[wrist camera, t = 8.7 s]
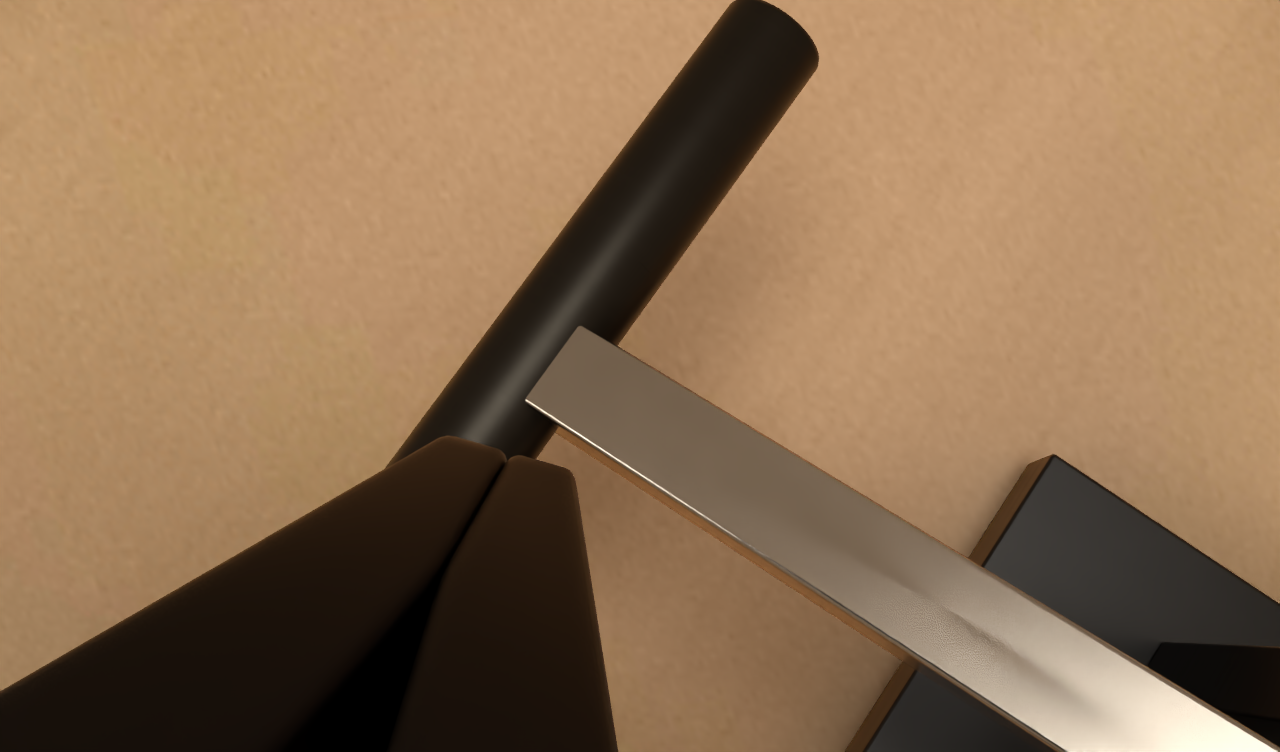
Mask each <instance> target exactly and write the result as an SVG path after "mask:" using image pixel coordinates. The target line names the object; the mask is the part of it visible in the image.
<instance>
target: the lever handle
mask: <svg viewBox="0 0 1280 752" xmlns="http://www.w3.org/2000/svg"><path fill="white" fill-rule="evenodd" d="M818 62H819V55H818V51H817V48H816V46H815V44H814V42H813V40H812V39H811V37H810V36H809V35H808V33H807V32H806V31H805V30H804V29H803V28H802V27H801V26H800V25H799V24H798V23H797V22H796V21H795V20H794V19H793V18H792V17H790V16H789V15H788V14H786V13H785V12H783V11H782V10H780V9H779V8H777V7H775V6H774V5H772V4H769V3H767V2H765V1H762V0H736V1H734V2H732V3H731V4H730V5H729V7H728V8H727V9H726V11H725V12H724V13H723V15H722V16H721V17H720V19H719V20H718V21H717V23H716V24H715V25H714V27H713V28H712V30H711V31H710V32H709V34H708V35H707V36H706V38H705V39H704V40H703V42H702V43H701V44H700V46H699V47H698V48H697V50H696V51H695V52H694V54H693V55H692V56H691V58H690V59H689V60H688V62H687V63H686V64H685V66H684V67H683V69H682V70H681V71H680V73H679V74H678V75H677V77H676V78H675V79H674V81H673V82H672V83H671V85H670V86H669V87H668V89H667V90H666V91H665V93H664V94H663V95H662V97H661V98H660V99H659V101H658V102H657V103H656V105H655V106H654V108H653V109H652V110H651V112H650V113H649V114H648V116H647V117H646V118H645V120H644V121H643V122H642V124H641V125H640V126H639V128H638V129H637V130H636V132H635V133H634V134H633V136H632V137H631V138H630V140H629V141H628V142H627V144H626V145H625V146H624V148H623V149H622V151H621V152H620V153H619V155H618V156H617V157H616V159H615V160H614V161H613V163H612V164H611V165H610V167H609V168H608V169H607V171H606V172H605V173H604V175H603V176H602V177H601V179H600V180H599V181H598V183H597V184H596V185H595V187H594V188H593V190H592V191H591V192H590V194H589V195H588V196H587V198H586V199H585V200H584V202H583V203H582V204H581V206H580V207H579V208H578V210H577V211H576V212H575V214H574V215H573V216H572V218H571V219H570V220H569V222H568V223H567V224H566V226H565V227H564V228H563V230H562V231H561V233H560V234H559V235H558V237H557V238H556V239H555V241H554V242H553V243H552V245H551V246H550V247H549V249H548V250H547V251H546V253H545V254H544V255H543V257H542V258H541V259H540V261H539V262H538V263H537V265H536V266H535V267H534V269H533V270H532V272H531V273H530V274H529V276H528V277H527V278H526V280H525V281H524V282H523V284H522V285H521V286H520V288H519V289H518V290H517V292H516V293H515V294H514V296H513V297H512V298H511V300H510V301H509V302H508V304H507V305H506V306H505V308H504V309H503V311H502V312H501V313H500V315H499V316H498V317H497V319H496V320H495V321H494V323H493V324H492V325H491V327H490V328H489V329H488V331H487V332H486V333H485V335H484V336H483V337H482V339H481V340H480V341H479V343H478V344H477V345H476V347H475V348H474V349H473V351H472V352H471V354H470V355H469V356H468V358H467V359H466V360H465V362H464V363H463V364H462V366H461V367H460V368H459V370H458V371H457V372H456V374H455V375H454V376H453V378H452V379H451V380H450V382H449V383H448V384H447V386H446V387H445V388H444V390H443V391H442V393H441V394H440V395H439V397H438V398H437V399H436V401H435V402H434V403H433V405H432V406H431V407H430V409H429V410H428V411H427V413H426V414H425V415H424V417H423V418H422V419H421V421H420V422H419V423H418V425H417V426H416V427H415V429H414V430H413V431H412V433H411V434H410V436H409V437H408V438H407V440H406V441H405V442H404V444H403V445H402V446H401V448H400V449H399V450H398V452H397V453H396V454H395V456H394V457H393V458H392V460H391V461H390V462H389V464H388V465H387V466H386V468H387V467H389V466H391V465H393V464H394V463H396V462H398V461H400V460H401V459H403V458H405V457H406V456H408V455H410V454H412V453H413V452H415V451H417V450H419V449H420V448H422V447H424V446H425V445H427V444H429V443H431V442H432V441H434V440H436V439H438V438H440V437H444V436H455V437H459V438H462V439H466V440H469V441H473V442H476V443H480V444H483V445H487V446H490V447H494V448H497V449H499V450H501V451H502V452H503V453H504V454H505V456H506V459H507V461H508V460H509V459H510V458H511V457H514V456H517V455H520V456H525V457H528V458H532V459H536V458H537V457H538V455H539V454H540V452H541V451H542V450H543V448H544V447H545V445H546V444H547V443H548V441H549V440H550V439H551V437H552V436H553V434H554V433H556V434H558V435H559V436H561V437H562V438H564V439H565V440H567V441H568V442H570V443H571V444H573V445H574V446H576V447H577V448H579V449H580V450H582V451H583V452H585V453H587V454H588V455H590V456H591V457H593V458H594V459H596V460H597V461H599V462H600V463H602V464H603V465H605V466H606V467H608V468H609V469H611V470H612V471H614V472H615V473H617V474H618V475H620V476H621V477H623V478H625V479H626V480H628V481H629V482H631V483H632V484H634V485H635V486H637V487H638V488H640V489H641V490H643V491H644V492H646V493H647V494H649V495H650V496H652V497H653V498H655V499H656V500H658V501H659V502H661V503H663V504H664V505H666V506H667V507H669V508H670V509H672V510H673V511H675V512H676V513H678V514H679V515H681V516H682V517H684V518H685V519H687V520H688V521H690V522H691V523H693V524H694V525H696V526H697V527H699V528H701V529H702V530H704V531H705V532H707V533H708V534H710V535H711V536H713V537H714V538H716V539H717V540H719V541H720V542H722V543H723V544H725V545H726V546H728V547H729V548H731V549H732V550H734V551H735V552H737V553H739V554H740V555H742V556H743V557H745V558H746V559H748V560H749V561H751V562H752V563H754V564H755V565H757V566H758V567H760V568H761V569H763V570H764V571H766V572H767V573H769V574H770V575H772V576H773V577H775V578H777V579H778V580H780V581H781V582H783V583H784V584H786V585H787V586H789V587H790V588H792V589H793V590H795V591H796V592H798V593H799V594H801V595H802V596H804V597H805V598H807V599H808V600H810V601H811V602H813V603H815V604H816V605H818V606H819V607H821V608H822V609H824V610H825V611H827V612H828V613H830V614H831V615H833V616H834V617H836V618H837V619H839V620H840V621H842V622H843V623H845V624H846V625H848V626H849V627H851V628H853V629H854V630H856V631H857V632H859V633H860V634H862V635H863V636H865V637H866V638H868V639H869V640H871V641H872V642H874V643H875V644H877V645H878V646H880V647H881V648H883V649H884V650H886V651H887V652H889V653H891V654H892V655H894V656H895V657H897V658H898V659H900V660H901V661H903V662H904V663H906V664H907V665H909V666H910V667H912V668H913V669H915V670H916V671H918V672H919V673H921V674H922V675H924V676H925V677H927V678H929V679H930V680H932V681H933V682H935V683H936V684H938V685H939V686H941V687H942V688H944V689H945V690H947V691H948V692H950V693H951V694H953V695H954V696H956V697H957V698H959V699H960V700H962V701H963V702H965V703H967V704H968V705H970V706H971V707H973V708H974V709H976V710H977V711H979V712H980V713H982V714H983V715H985V716H986V717H988V718H989V719H991V720H992V721H994V722H995V723H997V724H998V725H1000V726H1001V727H1003V728H1005V729H1006V730H1008V731H1009V732H1011V733H1012V734H1014V735H1015V736H1017V737H1018V738H1020V739H1021V740H1023V741H1024V742H1026V743H1027V744H1029V745H1030V746H1032V747H1033V748H1035V749H1036V750H1038V751H1039V752H1280V747H1279V746H1277V745H1275V744H1274V743H1272V742H1271V741H1269V740H1267V739H1266V738H1264V737H1262V736H1261V735H1259V734H1257V733H1256V732H1254V731H1252V730H1251V729H1249V728H1247V727H1246V726H1244V725H1242V724H1241V723H1239V722H1238V721H1236V720H1234V719H1233V718H1231V717H1229V716H1228V715H1226V714H1224V713H1223V712H1221V711H1219V710H1218V709H1216V708H1214V707H1213V706H1211V705H1209V704H1208V703H1206V702H1204V701H1203V700H1201V699H1200V698H1198V697H1196V696H1195V695H1193V694H1191V693H1190V692H1188V691H1186V690H1185V689H1183V688H1181V687H1180V686H1178V685H1176V684H1175V683H1173V682H1171V681H1170V680H1168V679H1167V678H1165V677H1163V676H1162V675H1160V674H1158V673H1157V672H1155V671H1153V670H1152V669H1150V668H1148V667H1147V666H1145V665H1143V664H1142V663H1140V662H1138V661H1137V660H1135V659H1133V658H1132V657H1130V656H1129V655H1127V654H1125V653H1124V652H1122V651H1120V650H1119V649H1117V648H1115V647H1114V646H1112V645H1110V644H1109V643H1107V642H1105V641H1104V640H1102V639H1100V638H1099V637H1097V636H1096V635H1094V634H1092V633H1091V632H1089V631H1087V630H1086V629H1084V628H1082V627H1081V626H1079V625H1077V624H1076V623H1074V622H1072V621H1071V620H1069V619H1067V618H1066V617H1064V616H1063V615H1061V614H1059V613H1058V612H1056V611H1054V610H1053V609H1051V608H1049V607H1048V606H1046V605H1044V604H1043V603H1041V602H1039V601H1038V600H1036V599H1034V598H1033V597H1031V596H1029V595H1028V594H1026V593H1025V592H1023V591H1021V590H1020V589H1018V588H1016V587H1015V586H1013V585H1011V584H1010V583H1008V582H1006V581H1005V580H1003V579H1001V578H1000V577H998V576H996V575H995V574H993V573H992V572H990V571H988V570H987V569H985V568H983V567H982V566H980V565H978V564H977V563H975V562H973V561H972V560H970V559H968V558H967V557H965V556H963V555H962V554H960V553H958V552H957V551H955V550H954V549H952V548H950V547H949V546H947V545H945V544H944V543H942V542H940V541H939V540H937V539H935V538H934V537H932V536H930V535H929V534H927V533H925V532H924V531H922V530H921V529H919V528H917V527H916V526H914V525H912V524H911V523H909V522H907V521H906V520H904V519H902V518H901V517H899V516H897V515H896V514H894V513H892V512H891V511H889V510H887V509H886V508H884V507H883V506H881V505H879V504H878V503H876V502H874V501H873V500H871V499H869V498H868V497H866V496H864V495H863V494H861V493H859V492H858V491H856V490H854V489H853V488H851V487H850V486H848V485H846V484H845V483H843V482H841V481H840V480H838V479H836V478H835V477H833V476H831V475H830V474H828V473H826V472H825V471H823V470H821V469H820V468H818V467H817V466H815V465H813V464H812V463H810V462H808V461H807V460H805V459H803V458H802V457H800V456H798V455H797V454H795V453H793V452H792V451H790V450H788V449H787V448H785V447H783V446H782V445H780V444H779V443H777V442H775V441H774V440H772V439H770V438H769V437H767V436H765V435H764V434H762V433H760V432H759V431H757V430H755V429H754V428H752V427H750V426H749V425H747V424H746V423H744V422H742V421H741V420H739V419H737V418H736V417H734V416H732V415H731V414H729V413H727V412H726V411H724V410H722V409H721V408H719V407H717V406H716V405H714V404H712V403H711V402H709V401H708V400H706V399H704V398H703V397H701V396H699V395H698V394H696V393H694V392H693V391H691V390H689V389H688V388H686V387H684V386H683V385H681V384H679V383H678V382H676V381H675V380H673V379H671V378H670V377H668V376H666V375H665V374H663V373H661V372H660V371H658V370H656V369H655V368H653V367H651V366H650V365H648V364H646V363H645V362H643V361H641V360H640V359H638V358H637V357H635V356H633V355H632V354H630V353H628V352H627V351H625V350H623V349H622V348H620V347H618V344H619V343H620V341H621V340H622V339H623V337H624V336H625V334H626V333H627V332H628V330H629V329H630V327H631V326H632V325H633V323H634V322H635V321H636V319H637V318H638V316H639V315H640V314H641V312H642V311H643V309H644V308H645V307H646V305H647V304H648V302H649V301H650V300H651V298H652V297H653V296H654V294H655V293H656V291H657V290H658V289H659V287H660V286H661V284H662V283H663V282H664V280H665V279H666V277H667V276H668V275H669V273H670V272H671V271H672V269H673V268H674V266H675V265H676V264H677V262H678V261H679V259H680V258H681V257H682V255H683V254H684V253H685V251H686V250H687V248H688V247H689V246H690V244H691V243H692V241H693V240H694V239H695V237H696V236H697V234H698V233H699V232H700V230H701V229H702V228H703V226H704V225H705V223H706V222H707V221H708V219H709V218H710V216H711V215H712V214H713V212H714V211H715V209H716V208H717V207H718V205H719V204H720V203H721V201H722V200H723V198H724V197H725V196H726V194H727V193H728V191H729V190H730V189H731V187H732V186H733V184H734V183H735V182H736V180H737V179H738V178H739V176H740V175H741V173H742V172H743V171H744V169H745V168H746V166H747V165H748V164H749V162H750V161H751V160H752V158H753V157H754V155H755V154H756V153H757V151H758V150H759V148H760V147H761V146H762V144H763V143H764V141H765V140H766V139H767V137H768V136H769V135H770V133H771V132H772V130H773V129H774V128H775V126H776V125H777V123H778V122H779V121H780V119H781V118H782V116H783V115H784V114H785V112H786V111H787V110H788V108H789V107H790V105H791V104H792V103H793V101H794V100H795V98H796V97H797V96H798V94H799V93H800V92H801V90H802V89H803V87H804V86H805V85H806V83H807V82H808V80H809V79H810V78H811V76H812V75H813V73H814V72H815V71H816V69H817V67H818ZM386 468H385V469H386Z"/></svg>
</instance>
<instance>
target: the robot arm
mask: <svg viewBox="0 0 1280 752" xmlns="http://www.w3.org/2000/svg"><path fill="white" fill-rule="evenodd" d="M0 752H618V748H617V741H616V735H615V728H614V722H613V716H612V709H611V703H610V697H609V690H608V684H607V678H606V671H605V665H604V658H603V652H602V646H601V639H600V633H599V627H598V620H597V614H596V607H595V601H594V595H593V588H592V582H591V576H590V569H589V563H588V557H587V550H586V544H585V537H584V531H583V525H582V518H581V512H580V506H579V499H578V493H577V486H576V481H575V478H574V476H573V473H572V472H571V471H570V470H568V469H566V468H564V467H560V466H557V465H553V464H550V463H546V462H543V461H539V460H535V459H532V458H528V457H525V456H520V455H517V456H514V457H511V458H510V459H509V460H508V461H507V459H506V456H505V454H504V453H503V452H502V451H501V450H499V449H497V448H494V447H490V446H487V445H483V444H480V443H476V442H473V441H469V440H466V439H462V438H459V437H455V436H444V437H440V438H438V439H436V440H434V441H432V442H431V443H429V444H427V445H425V446H424V447H422V448H420V449H419V450H417V451H415V452H413V453H412V454H410V455H408V456H406V457H405V458H403V459H401V460H400V461H398V462H396V463H394V464H393V465H391V466H389V467H387V468H386V469H384V470H382V471H381V472H379V473H377V474H375V475H374V476H372V477H370V478H368V479H367V480H365V481H363V482H362V483H360V484H358V485H356V486H355V487H353V488H351V489H349V490H348V491H346V492H344V493H342V494H341V495H339V496H337V497H336V498H334V499H332V500H330V501H329V502H327V503H325V504H323V505H322V506H320V507H318V508H317V509H315V510H313V511H311V512H310V513H308V514H306V515H304V516H303V517H301V518H299V519H298V520H296V521H294V522H292V523H291V524H289V525H287V526H285V527H284V528H282V529H280V530H279V531H277V532H275V533H273V534H272V535H270V536H268V537H266V538H265V539H263V540H261V541H259V542H258V543H256V544H254V545H253V546H251V547H249V548H247V549H246V550H244V551H242V552H240V553H239V554H237V555H235V556H234V557H232V558H230V559H228V560H227V561H225V562H223V563H221V564H220V565H218V566H216V567H215V568H213V569H211V570H209V571H208V572H206V573H204V574H202V575H201V576H199V577H197V578H196V579H194V580H192V581H190V582H189V583H187V584H185V585H183V586H182V587H180V588H178V589H177V590H175V591H173V592H171V593H170V594H168V595H166V596H164V597H163V598H161V599H159V600H157V601H156V602H154V603H152V604H151V605H149V606H147V607H145V608H144V609H142V610H140V611H138V612H137V613H135V614H133V615H132V616H130V617H128V618H126V619H125V620H123V621H121V622H119V623H118V624H116V625H114V626H113V627H111V628H109V629H107V630H106V631H104V632H102V633H100V634H99V635H97V636H95V637H94V638H92V639H90V640H88V641H87V642H85V643H83V644H81V645H80V646H78V647H76V648H75V649H73V650H71V651H69V652H68V653H66V654H64V655H62V656H61V657H59V658H57V659H55V660H54V661H52V662H50V663H49V664H47V665H45V666H43V667H42V668H40V669H38V670H36V671H35V672H33V673H31V674H30V675H28V676H26V677H24V678H23V679H21V680H19V681H17V682H16V683H14V684H12V685H11V686H9V687H7V688H5V689H4V690H2V691H0Z"/></svg>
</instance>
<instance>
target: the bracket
mask: <svg viewBox="0 0 1280 752" xmlns="http://www.w3.org/2000/svg"><path fill="white" fill-rule="evenodd" d="M968 559H970V560H972V561H973V562H975V563H977V564H978V565H980V566H982V567H983V568H985V569H987V570H988V571H990V572H992V573H993V574H995V575H996V576H998V577H1000V578H1001V579H1003V580H1005V581H1006V582H1008V583H1010V584H1011V585H1013V586H1015V587H1016V588H1018V589H1020V590H1021V591H1023V592H1025V593H1026V594H1028V595H1029V596H1031V597H1033V598H1034V599H1036V600H1038V601H1039V602H1041V603H1043V604H1044V605H1046V606H1048V607H1049V608H1051V609H1053V610H1054V611H1056V612H1058V613H1059V614H1061V615H1063V616H1064V617H1066V618H1067V619H1069V620H1071V621H1072V622H1074V623H1076V624H1077V625H1079V626H1081V627H1082V628H1084V629H1086V630H1087V631H1089V632H1091V633H1092V634H1094V635H1096V636H1097V637H1099V638H1100V639H1102V640H1104V641H1105V642H1107V643H1109V644H1110V645H1112V646H1114V647H1115V648H1117V649H1119V650H1120V651H1122V652H1124V653H1125V654H1127V655H1129V656H1130V657H1132V658H1133V659H1135V660H1137V661H1138V662H1140V663H1142V664H1143V665H1145V666H1147V667H1148V668H1150V669H1152V670H1153V671H1155V672H1157V673H1158V674H1160V675H1162V676H1163V677H1165V678H1167V679H1168V680H1170V681H1171V682H1173V683H1175V684H1176V685H1178V686H1180V687H1181V688H1183V689H1185V690H1186V691H1188V692H1190V693H1191V694H1193V695H1195V696H1196V697H1198V698H1200V699H1201V700H1203V701H1204V702H1206V703H1208V704H1209V705H1211V706H1213V707H1214V708H1216V709H1218V710H1219V711H1221V712H1223V713H1224V714H1226V715H1228V716H1229V717H1231V718H1233V719H1234V720H1236V721H1238V722H1239V723H1241V724H1242V725H1244V726H1246V727H1247V728H1249V729H1251V730H1252V731H1254V732H1256V733H1257V734H1259V735H1261V736H1262V737H1264V738H1266V739H1267V740H1269V741H1271V742H1272V743H1274V744H1275V745H1277V746H1279V747H1280V604H1279V603H1278V602H1276V601H1275V600H1273V599H1272V598H1270V597H1269V596H1267V595H1266V594H1264V593H1262V592H1261V591H1259V590H1258V589H1256V588H1255V587H1253V586H1252V585H1250V584H1249V583H1247V582H1246V581H1244V580H1243V579H1241V578H1240V577H1238V576H1237V575H1235V574H1234V573H1232V572H1231V571H1229V570H1228V569H1226V568H1225V567H1223V566H1222V565H1220V564H1219V563H1217V562H1216V561H1214V560H1213V559H1211V558H1210V557H1208V556H1207V555H1205V554H1204V553H1202V552H1201V551H1199V550H1198V549H1196V548H1195V547H1193V546H1192V545H1190V544H1189V543H1187V542H1186V541H1184V540H1183V539H1181V538H1180V537H1178V536H1177V535H1175V534H1174V533H1172V532H1171V531H1169V530H1168V529H1166V528H1165V527H1163V526H1162V525H1160V524H1159V523H1157V522H1156V521H1154V520H1153V519H1151V518H1150V517H1148V516H1147V515H1145V514H1144V513H1142V512H1141V511H1139V510H1138V509H1136V508H1135V507H1133V506H1132V505H1130V504H1129V503H1127V502H1126V501H1124V500H1123V499H1121V498H1120V497H1118V496H1117V495H1115V494H1114V493H1112V492H1111V491H1109V490H1108V489H1106V488H1105V487H1103V486H1102V485H1100V484H1099V483H1097V482H1096V481H1094V480H1093V479H1091V478H1090V477H1088V476H1087V475H1085V474H1084V473H1082V472H1081V471H1079V470H1078V469H1076V468H1075V467H1073V466H1072V465H1070V464H1069V463H1067V462H1066V461H1064V460H1063V459H1061V458H1060V457H1058V456H1057V455H1054V454H1052V455H1050V456H1047V457H1045V458H1042V459H1040V460H1037V461H1035V462H1032V463H1030V464H1029V465H1028V466H1027V468H1026V469H1025V471H1024V472H1023V474H1022V475H1021V477H1020V478H1019V480H1018V482H1017V483H1016V485H1015V486H1014V488H1013V489H1012V491H1011V493H1010V494H1009V496H1008V497H1007V499H1006V500H1005V502H1004V503H1003V505H1002V507H1001V508H1000V510H999V511H998V513H997V514H996V516H995V518H994V519H993V521H992V522H991V524H990V525H989V527H988V529H987V530H986V532H985V533H984V535H983V536H982V538H981V539H980V541H979V543H978V544H977V546H976V547H975V549H974V550H973V552H972V554H971V555H970V557H969V558H968ZM845 752H1039V751H1038V750H1036V749H1035V748H1033V747H1032V746H1030V745H1029V744H1027V743H1026V742H1024V741H1023V740H1021V739H1020V738H1018V737H1017V736H1015V735H1014V734H1012V733H1011V732H1009V731H1008V730H1006V729H1005V728H1003V727H1001V726H1000V725H998V724H997V723H995V722H994V721H992V720H991V719H989V718H988V717H986V716H985V715H983V714H982V713H980V712H979V711H977V710H976V709H974V708H973V707H971V706H970V705H968V704H967V703H965V702H963V701H962V700H960V699H959V698H957V697H956V696H954V695H953V694H951V693H950V692H948V691H947V690H945V689H944V688H942V687H941V686H939V685H938V684H936V683H935V682H933V681H932V680H930V679H929V678H927V677H925V676H924V675H922V674H921V673H919V672H918V671H916V670H915V669H913V668H912V667H910V666H909V665H907V664H906V663H904V662H903V661H902V663H901V665H900V666H899V668H898V669H897V671H896V672H895V674H894V675H893V677H892V679H891V680H890V682H889V683H888V685H887V686H886V688H885V690H884V691H883V693H882V694H881V696H880V697H879V699H878V700H877V702H876V704H875V705H874V707H873V708H872V710H871V711H870V713H869V715H868V716H867V718H866V719H865V721H864V722H863V724H862V725H861V727H860V729H859V730H858V732H857V733H856V735H855V736H854V738H853V740H852V741H851V743H850V744H849V746H848V747H847V749H846V750H845Z"/></svg>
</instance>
